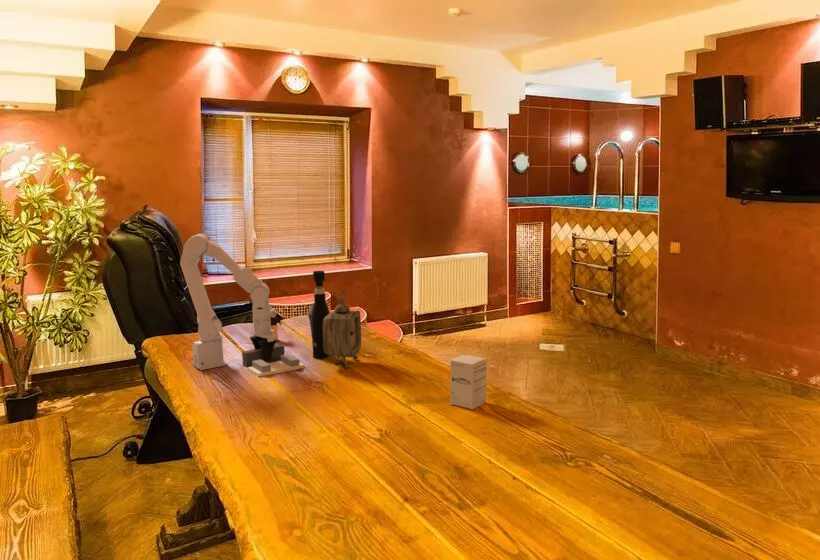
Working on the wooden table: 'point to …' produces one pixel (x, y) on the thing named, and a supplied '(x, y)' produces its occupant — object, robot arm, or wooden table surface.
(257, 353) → the handle bar
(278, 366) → the stand
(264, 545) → the wooden table surface
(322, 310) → the wine bottle
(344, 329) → the tabletop clock
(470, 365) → the supplement box
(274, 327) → the grandmother figurine
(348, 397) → the wooden table surface
